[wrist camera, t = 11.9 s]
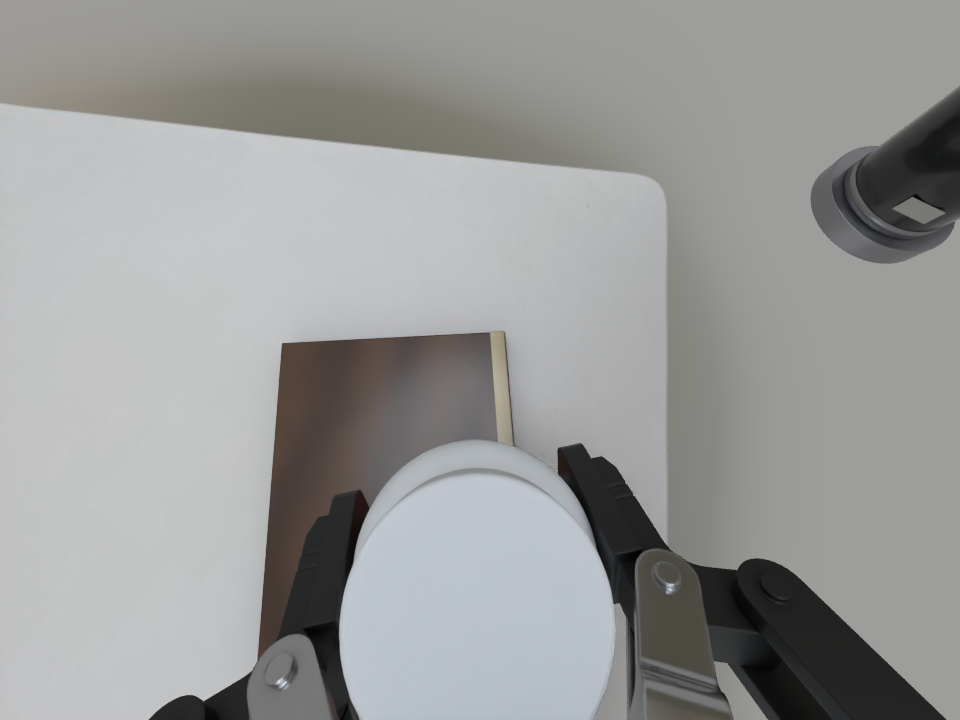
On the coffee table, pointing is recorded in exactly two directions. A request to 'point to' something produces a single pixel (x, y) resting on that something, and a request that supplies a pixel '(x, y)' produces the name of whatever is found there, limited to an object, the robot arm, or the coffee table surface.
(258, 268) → the coffee table surface
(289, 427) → the board
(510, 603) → the pill bottle
